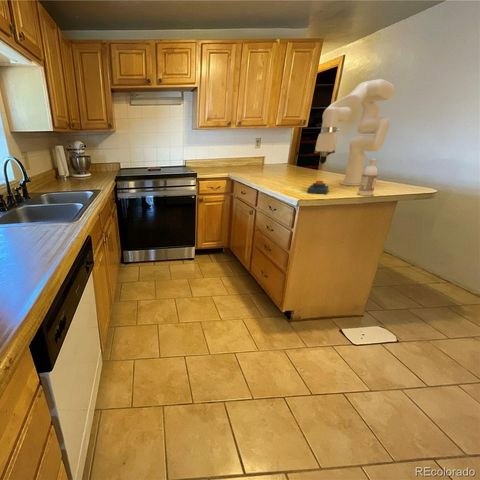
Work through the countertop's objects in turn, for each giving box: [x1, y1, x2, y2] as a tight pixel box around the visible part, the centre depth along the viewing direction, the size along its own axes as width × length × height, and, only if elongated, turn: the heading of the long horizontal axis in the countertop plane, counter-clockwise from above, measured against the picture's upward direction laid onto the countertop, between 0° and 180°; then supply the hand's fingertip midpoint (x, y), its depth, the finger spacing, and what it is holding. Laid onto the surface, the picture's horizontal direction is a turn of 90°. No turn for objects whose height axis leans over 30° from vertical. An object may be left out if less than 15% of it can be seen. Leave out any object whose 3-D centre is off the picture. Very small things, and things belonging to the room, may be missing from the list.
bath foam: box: [357, 158, 379, 196], centre depth 151 cm, size 7×7×20 cm
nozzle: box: [315, 180, 324, 184], centre depth 165 cm, size 4×4×2 cm
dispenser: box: [307, 182, 330, 195], centre depth 166 cm, size 13×10×5 cm
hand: (322, 163), depth 161 cm, fingers closed
